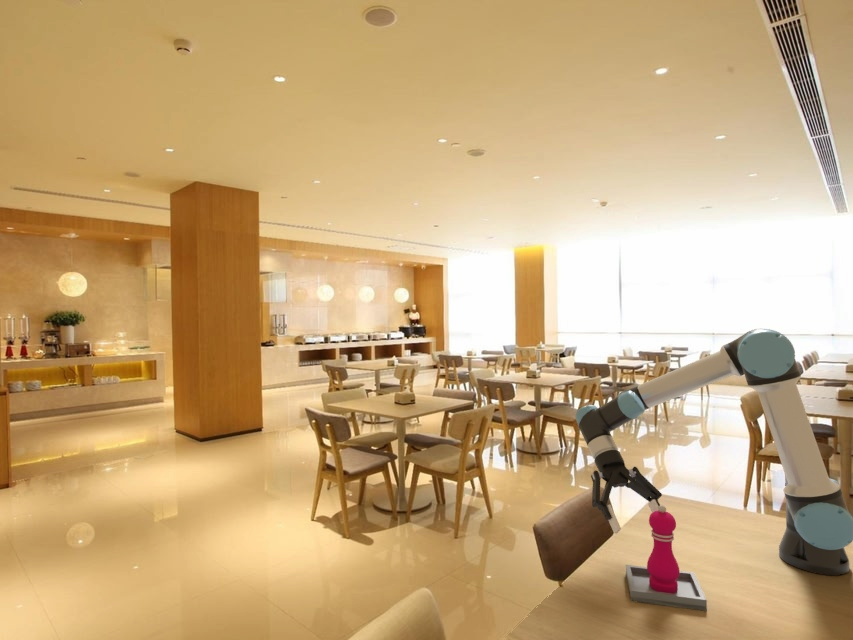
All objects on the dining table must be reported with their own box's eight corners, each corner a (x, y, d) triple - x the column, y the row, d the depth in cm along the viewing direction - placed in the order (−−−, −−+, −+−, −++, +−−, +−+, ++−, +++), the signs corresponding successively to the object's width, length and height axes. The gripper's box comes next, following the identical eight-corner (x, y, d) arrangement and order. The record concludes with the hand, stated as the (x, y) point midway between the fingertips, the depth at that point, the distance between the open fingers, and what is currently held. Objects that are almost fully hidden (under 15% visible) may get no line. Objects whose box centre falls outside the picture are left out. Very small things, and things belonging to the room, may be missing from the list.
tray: (694, 582, 128) (693, 572, 128) (706, 611, 115) (706, 600, 115) (625, 574, 132) (625, 564, 132) (631, 601, 120) (631, 590, 120)
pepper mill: (683, 596, 119) (682, 511, 119) (650, 593, 121) (649, 509, 121) (675, 580, 126) (674, 500, 126) (644, 578, 128) (643, 499, 128)
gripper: (638, 458, 151) (674, 528, 137) (562, 465, 145) (592, 540, 131) (649, 445, 146) (689, 516, 132) (571, 451, 140) (603, 527, 126)
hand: (641, 528), depth 131 cm, fingers open, 13 cm apart
